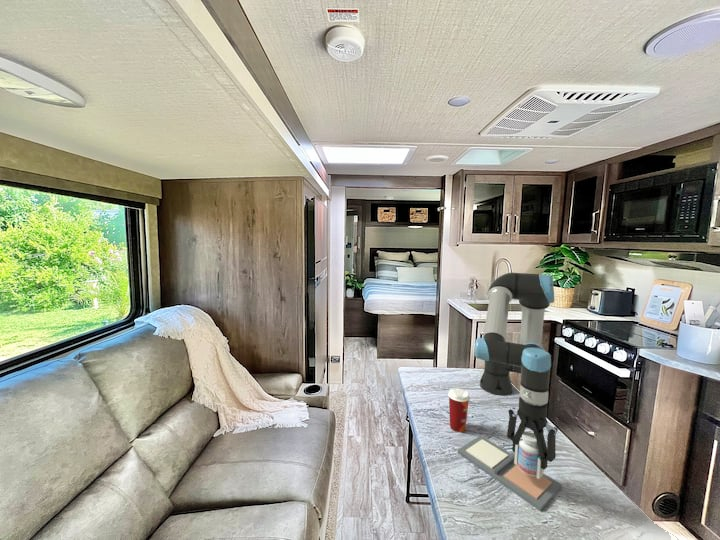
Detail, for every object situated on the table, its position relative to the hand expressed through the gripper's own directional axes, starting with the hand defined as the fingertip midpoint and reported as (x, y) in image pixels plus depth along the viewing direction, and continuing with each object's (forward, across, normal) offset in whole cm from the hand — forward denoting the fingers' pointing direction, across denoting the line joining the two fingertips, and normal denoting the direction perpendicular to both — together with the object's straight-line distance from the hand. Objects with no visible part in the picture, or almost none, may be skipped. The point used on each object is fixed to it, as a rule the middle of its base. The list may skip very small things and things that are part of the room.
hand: (528, 469), depth 93 cm
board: (+5, -7, 0) cm, 8 cm away
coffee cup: (+5, -30, +5) cm, 31 cm away
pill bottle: (0, 0, 0) cm, 1 cm away
